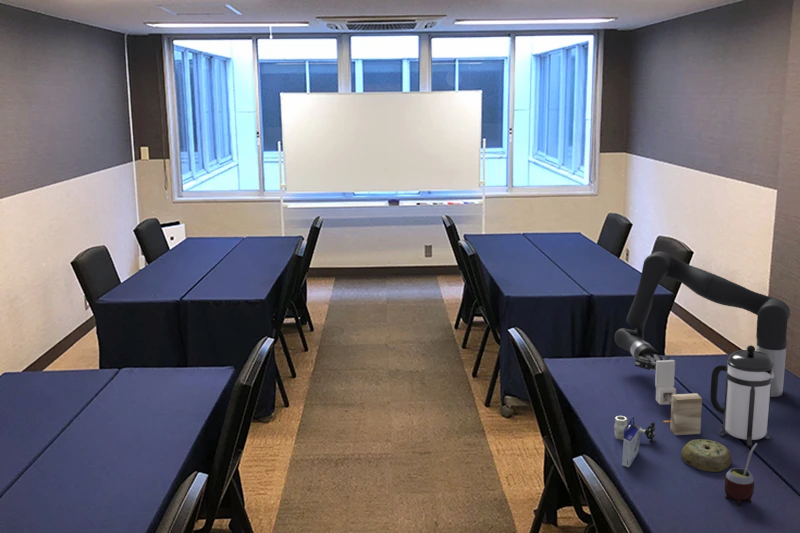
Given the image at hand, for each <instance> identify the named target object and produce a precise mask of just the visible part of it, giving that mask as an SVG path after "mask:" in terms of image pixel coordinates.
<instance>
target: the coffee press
mask: <svg viewBox="0 0 800 533" xmlns="http://www.w3.org/2000/svg"><path fill="white" fill-rule="evenodd" d="M773 367H774V364H773V362H772V361H771V359H770V357H769V356H767V355H766V354H764V353H761V352H758V351H756V348H755V346H754V345H748V346H747V347H746V349H740V350H737V351H733V352H732V353H730V355H729V356H728V357H727V359H726V364H719V365H717V366H715V367H714V368H713V370H712V372H711V379H710V393H709V394H710V395H709V396H710V402H711V406H712V407H713V409H715V411H717V412H719V413H720V414H722V415H723V422H722V423H723V424H722V427H721V428H720V429H719V430H718V434H719V436H720V437H723V436H727V434H729V435H730V436H732V437H734V438H737V439H741V440H745V444H746V446H745V447H747V448H753V441H756V440H760V439H762V438H765V439H767V440H771V439H772V435H771V433H770V432H769V418H770V417H769V416H770V408H771V407H770V404H771V397H770V395H771V382H772V378H774V372H773ZM721 372H726V379H725V393H724V407H722V405H720V403H719V402H718V387H719V385H718V384H719V375H720V373H721ZM724 430H725V431H724ZM723 431H724V432H723ZM721 432H723V433H721ZM767 434H769V436H766V435H767Z"/></svg>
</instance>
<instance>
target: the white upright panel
mask: <svg viewBox="0 0 800 533" xmlns="http://www.w3.org/2000/svg"><path fill="white" fill-rule="evenodd" d="M675 370H676V361H675V360H674V359H670V360H662V361H656V371H655V376H654V377H655V379H654V386H655V401H656V402H657V403H658V404H659V405H661V406H663V405H671V404H670V403H669V402H668V401H667V400H666V399H665V398H664V397H663V393H669V394H670V395H671V396H672V395H675V394H677V389H676V388H675V387H674V386H675Z"/></svg>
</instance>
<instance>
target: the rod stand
mask: <svg viewBox="0 0 800 533" xmlns="http://www.w3.org/2000/svg"><path fill="white" fill-rule="evenodd" d="M663 397H664V398H665V399H666V400H667V401H668V402H669V403H670V404H669V405H671V406H670V419H668V420H667V419H666V420H663V421H662V422H663V423H665V424H667V423H670V424H669V426H670V427H669V428H670V431H671V433H672V434H674V436H685V435H700V434H701V426H702V410H703V409H702V408H703V407H702V406H703V398H702V397H701V396H700V395H699V394H698V393H697V392H696V393H676V394H675V395H672V396H671V395H670V394H669V393H663Z"/></svg>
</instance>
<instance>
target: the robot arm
mask: <svg viewBox="0 0 800 533" xmlns="http://www.w3.org/2000/svg"><path fill="white" fill-rule="evenodd" d="M664 277H665V278H669V279H673V280H675V281H677V282H679V283H681V284H683V285H684V286H685V287H687V288H688V289H690V290H691V292H693V293H695V294H696V295H698V296H700V297H702V298H703V299H706V300H708V301H710V302H712V303H714V304H718V305H722V306H726V307H731V308H738V309H743V310H745V311H748V312H750V313H751V314H754V315H756V316H757V320H756V336H755V338H756V348H755V351H758V352H761V353H764V354H766V355H767V356H769V357H770V359H771V361H772V362H773V364H774V367H773V372H774V378H772V382H771V395H770V398H775V397H781V396H782V395H783V392H784V391H783V389H784V381H785V380H784V379H785V370H786V369H785V368H786V367H785V366H786V357H787V356H786V355H787V354H786V353H787V344H788V343H787V342H788V340H787V331H788V320H789V318H790V317H791V316H790V315H791V309H790V307H789V305H787V303H786V302H785V301H783V300H781V299H779V298H775V297H772V296H769V295H765V294H762V293H758V292H757V291H753V290H751V289H748V288H746V287H745V286H742V285H741V284H738V283H736V282H733V281H731V280H729V279H726V278H725V277H722V276H720V275H717V274H715V273H712V272H709V271H706V270H704V269H702V268H698V267H696V266H693V265H690V264H688V263H687V262H684V261H682V260H680V259H678V258H677V257H674V256H672V255H671V254H669V253H667V252H665V251H655V252H652V253H650V254H649V255H648V256H647V257H646V258H645V259H644V261H643V264H642V269H641V274H640V279H639V284H638V288H637V291H636V292H635V296H634V299H633V301H632V303H631V305H630V308H629V311H628V314H627V316H626V323H627V324H628V325H629V326H631V327H632V328H634V330H633V329H628V328H625V327H623V328H619V329H617V330H616V331H615V334H614V342H615V344H616V345H617V346H618V347H619V348H620V349H623V350H624V351H627V352H629V354H631V356H632V357H633V358H634V366H635V367H638V368H641V369H644V370H647V371H651V370H653V371H655V372H656V361H662V360H671V357H669V356H667V357H664V358H663V356H662V355H660V354H659V353H658V351H657V350H656V349H655V348H654V347H653V346H652V345H651V344H650V343H649V342H646V341H645V340H644V333H645V332H644V331H645V326H646V323H647V320H648V318H649V315H650V312H651V309H652V306H653V301H654V300H653V299H654V295H655V292H656V290H657V288H658V285H659V284H660V283H661V281H662V279H663V278H664Z"/></svg>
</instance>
